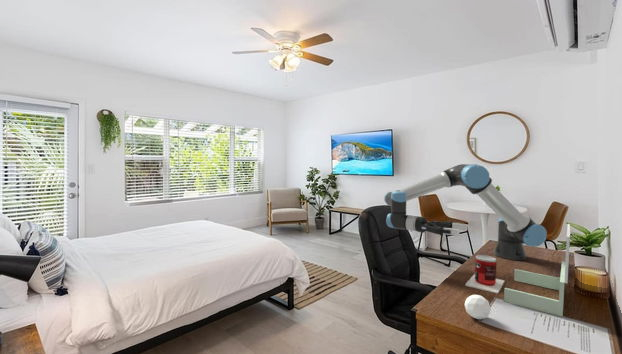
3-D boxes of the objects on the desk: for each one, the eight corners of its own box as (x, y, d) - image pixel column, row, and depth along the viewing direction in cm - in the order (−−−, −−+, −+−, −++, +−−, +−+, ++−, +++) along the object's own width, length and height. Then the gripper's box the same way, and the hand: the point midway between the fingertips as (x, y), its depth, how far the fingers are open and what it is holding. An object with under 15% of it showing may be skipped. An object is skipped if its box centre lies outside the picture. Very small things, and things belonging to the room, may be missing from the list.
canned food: (477, 277, 137) (478, 253, 136) (497, 282, 131) (498, 257, 130) (472, 282, 131) (473, 257, 131) (493, 287, 126) (494, 261, 125)
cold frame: (514, 279, 136) (517, 218, 134) (566, 291, 124) (570, 224, 123) (504, 301, 115) (506, 229, 113) (565, 317, 103) (569, 237, 101)
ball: (473, 327, 102) (461, 310, 101) (470, 308, 109) (459, 292, 108) (497, 322, 98) (484, 304, 97) (492, 303, 105) (480, 286, 104)
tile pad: (474, 275, 141) (474, 273, 141) (504, 281, 133) (504, 280, 133) (465, 285, 129) (465, 284, 129) (497, 293, 121) (497, 292, 121)
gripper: (426, 227, 159) (470, 233, 145) (406, 236, 140) (455, 244, 127) (426, 213, 159) (470, 217, 145) (406, 220, 140) (455, 226, 126)
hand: (463, 230), depth 136 cm, fingers open, 13 cm apart
